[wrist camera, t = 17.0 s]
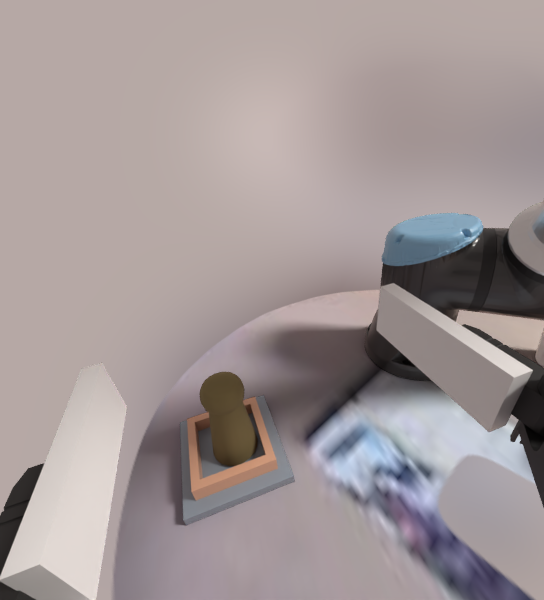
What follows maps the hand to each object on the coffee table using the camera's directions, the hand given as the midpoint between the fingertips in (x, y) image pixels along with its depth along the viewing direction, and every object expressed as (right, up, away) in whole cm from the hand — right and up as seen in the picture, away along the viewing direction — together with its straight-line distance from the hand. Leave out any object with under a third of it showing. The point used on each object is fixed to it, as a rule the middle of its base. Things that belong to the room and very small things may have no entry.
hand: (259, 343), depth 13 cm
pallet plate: (-5, -19, +25) cm, 31 cm away
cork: (-4, -17, +24) cm, 30 cm away
